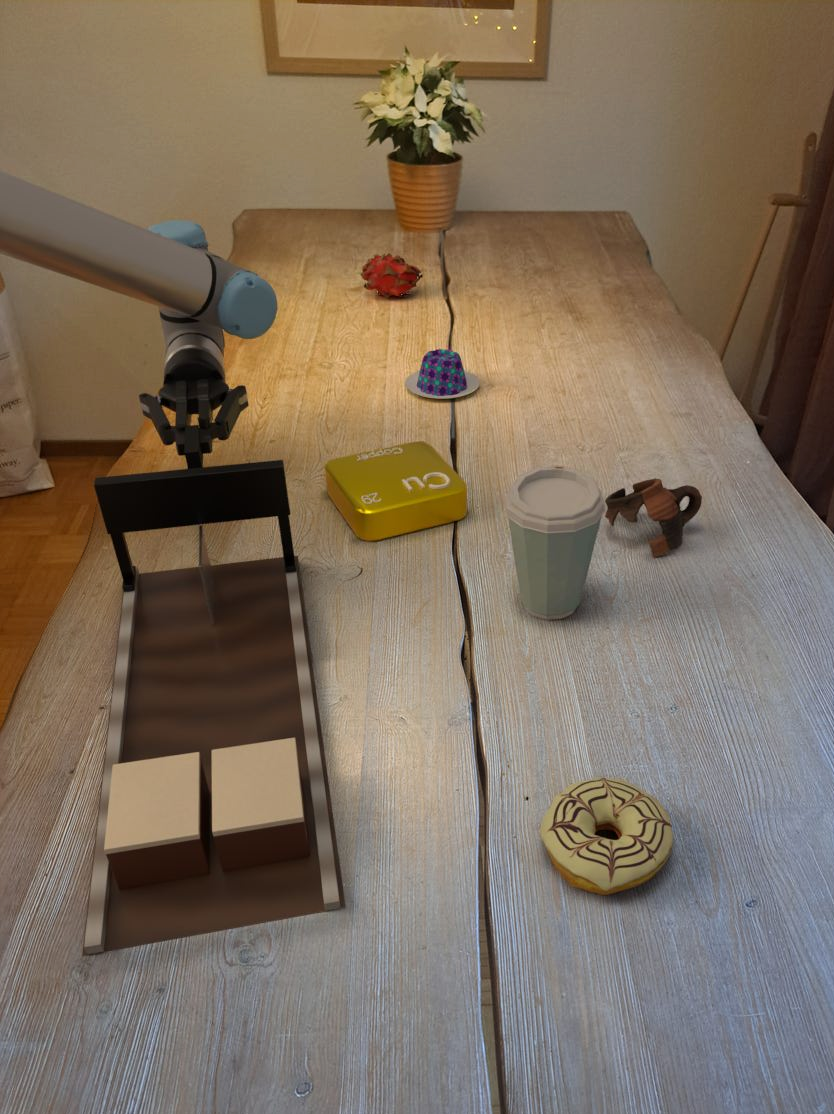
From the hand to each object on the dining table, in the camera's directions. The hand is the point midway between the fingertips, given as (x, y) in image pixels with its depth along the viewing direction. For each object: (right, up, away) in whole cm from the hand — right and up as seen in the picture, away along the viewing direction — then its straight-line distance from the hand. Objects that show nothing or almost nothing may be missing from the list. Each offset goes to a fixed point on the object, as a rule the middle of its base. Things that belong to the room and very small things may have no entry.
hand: (193, 463), depth 103 cm
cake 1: (+5, -36, -24) cm, 44 cm away
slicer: (+2, -14, +1) cm, 14 cm away
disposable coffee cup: (+39, -15, +4) cm, 42 cm away
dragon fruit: (+14, +48, +81) cm, 95 cm away
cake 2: (+13, -35, -23) cm, 44 cm away
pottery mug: (+53, -6, +15) cm, 55 cm away
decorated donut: (+42, -37, -23) cm, 60 cm away
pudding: (+25, +21, +48) cm, 58 cm away
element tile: (+20, -2, +20) cm, 29 cm away
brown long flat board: (+6, -27, -12) cm, 30 cm away
